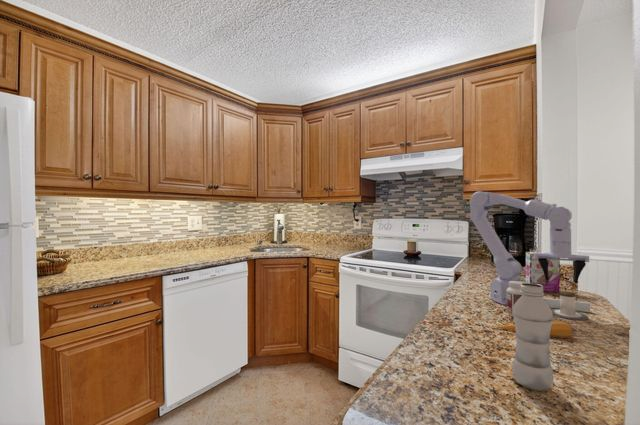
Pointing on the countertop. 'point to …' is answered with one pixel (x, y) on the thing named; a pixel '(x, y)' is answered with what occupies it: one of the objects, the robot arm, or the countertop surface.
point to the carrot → (557, 329)
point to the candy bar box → (542, 273)
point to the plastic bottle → (532, 339)
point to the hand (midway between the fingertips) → (560, 281)
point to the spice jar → (567, 303)
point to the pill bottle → (513, 295)
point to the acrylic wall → (556, 304)
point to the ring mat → (576, 317)
